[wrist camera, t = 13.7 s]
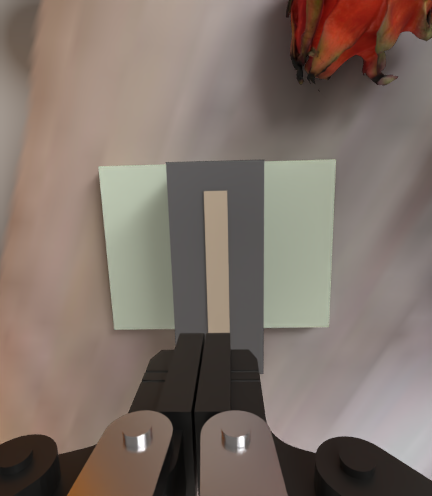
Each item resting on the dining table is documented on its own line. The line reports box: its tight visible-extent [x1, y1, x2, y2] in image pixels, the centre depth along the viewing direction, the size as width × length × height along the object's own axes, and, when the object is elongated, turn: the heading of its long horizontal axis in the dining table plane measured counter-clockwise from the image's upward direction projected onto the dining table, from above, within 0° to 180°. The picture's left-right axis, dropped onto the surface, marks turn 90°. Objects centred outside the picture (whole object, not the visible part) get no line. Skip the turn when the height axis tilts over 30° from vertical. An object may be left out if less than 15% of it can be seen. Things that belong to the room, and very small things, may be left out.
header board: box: [98, 159, 336, 330], centre depth 24 cm, size 16×12×4 cm
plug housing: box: [166, 160, 264, 374], centre depth 22 cm, size 5×12×6 cm, turn 1°
